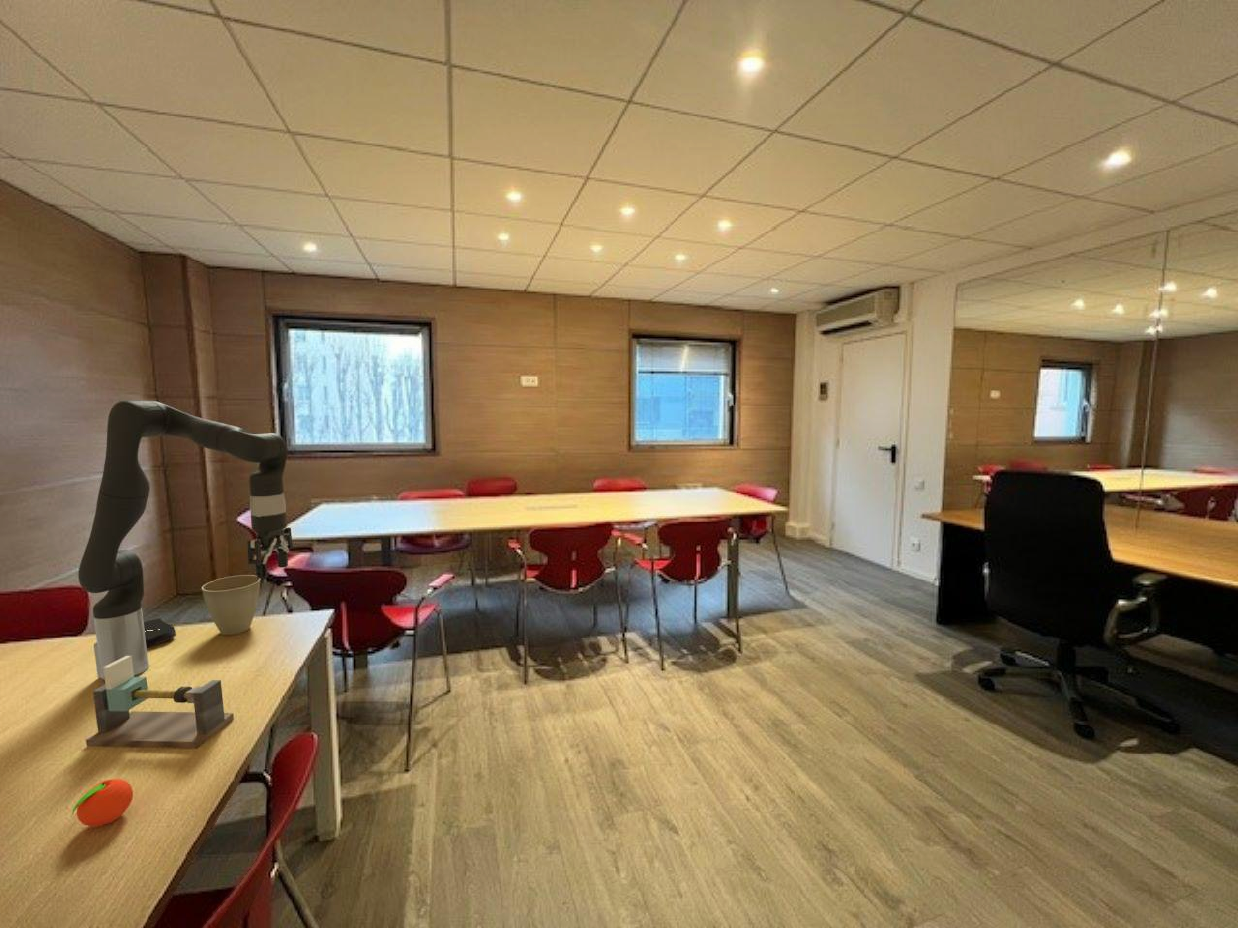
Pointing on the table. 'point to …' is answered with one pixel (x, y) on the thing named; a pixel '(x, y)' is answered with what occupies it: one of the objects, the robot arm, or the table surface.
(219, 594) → the plant pot
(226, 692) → the table surface
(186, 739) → the horizontal rod stand
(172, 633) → the black sponge
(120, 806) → the clementine
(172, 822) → the table surface
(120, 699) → the teal sliding block
